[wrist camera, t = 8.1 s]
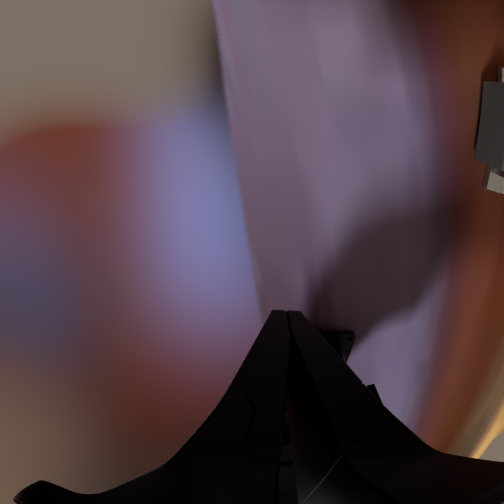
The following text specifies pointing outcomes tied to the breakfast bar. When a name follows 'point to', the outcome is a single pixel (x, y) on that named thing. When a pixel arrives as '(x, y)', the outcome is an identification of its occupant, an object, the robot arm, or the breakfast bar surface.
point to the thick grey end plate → (491, 126)
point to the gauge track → (493, 176)
